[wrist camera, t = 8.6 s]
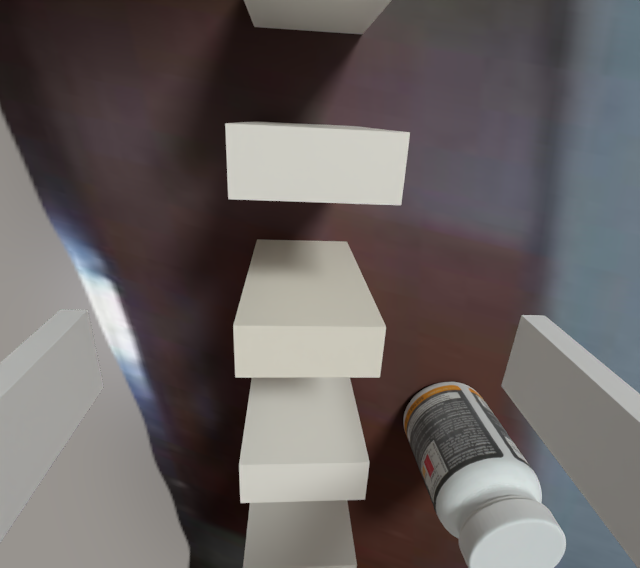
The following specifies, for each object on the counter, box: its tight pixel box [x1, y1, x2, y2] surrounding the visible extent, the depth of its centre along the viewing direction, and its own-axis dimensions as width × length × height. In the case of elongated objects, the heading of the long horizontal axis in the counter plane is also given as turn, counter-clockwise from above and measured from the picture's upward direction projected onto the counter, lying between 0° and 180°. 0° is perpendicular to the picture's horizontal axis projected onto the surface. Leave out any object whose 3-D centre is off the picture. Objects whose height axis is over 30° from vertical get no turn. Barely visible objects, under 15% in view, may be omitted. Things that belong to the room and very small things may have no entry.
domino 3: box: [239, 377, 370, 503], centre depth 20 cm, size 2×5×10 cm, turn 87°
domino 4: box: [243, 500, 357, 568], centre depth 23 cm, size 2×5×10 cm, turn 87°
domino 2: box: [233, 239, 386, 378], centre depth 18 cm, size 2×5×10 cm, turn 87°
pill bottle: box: [403, 382, 566, 568], centre depth 23 cm, size 6×6×10 cm
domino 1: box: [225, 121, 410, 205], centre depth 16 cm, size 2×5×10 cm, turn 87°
